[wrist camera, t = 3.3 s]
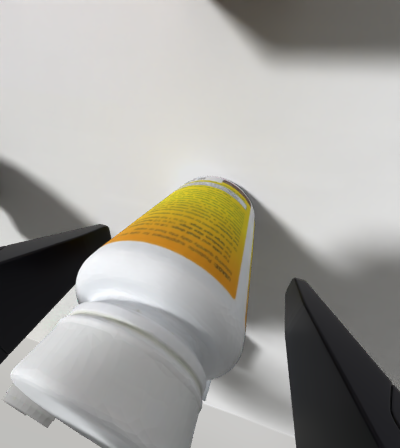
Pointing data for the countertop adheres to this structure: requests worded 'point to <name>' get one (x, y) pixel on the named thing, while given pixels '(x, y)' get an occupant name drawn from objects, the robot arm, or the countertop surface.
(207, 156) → the countertop surface
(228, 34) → the countertop surface
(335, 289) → the countertop surface
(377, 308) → the countertop surface
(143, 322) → the supplement bottle
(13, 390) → the food container
